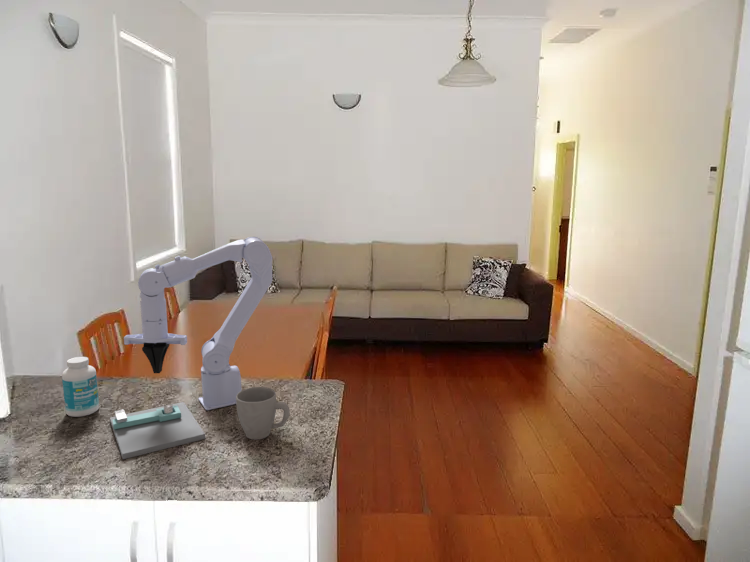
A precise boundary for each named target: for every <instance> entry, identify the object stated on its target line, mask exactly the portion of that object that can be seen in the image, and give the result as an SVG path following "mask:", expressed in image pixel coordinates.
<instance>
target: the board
mask: <svg viewBox="0 0 750 562" xmlns="http://www.w3.org/2000/svg"><path fill="white" fill-rule="evenodd" d="M170 405H173V406H176V405H177V406H178V408H179V410H180V412H181V418H176V419H172V420H167V421H162V422H160V421H159V420H158V421H153V422H148V423H143V424H138V425H133V426H129V427H124V428H119V429H114V427H113V419H115V416H110V417H109V420H110V425H111V428H112V431H113V434H114V437H115V440H116V443H117V447H118V450H119V453H120V456H121V458H122V460H126V459H129V458H134V457H138V456H141V455H142V456H143V455H145V454H149V453H154V452H158V451H161V450H165V449H166V450H167V449H170V448H174V447H178V446H182V445H185V444H190V443H193V442H198V441H201V440H205V439H206V433H205V431H204V430H203V428H202V427H201V425H200V424H199V423H198V421H197V419H196V418H195V416H194V415H193V413H192V412H191V410H190V409H189V407H187V405H186V403H185V402H184V401H181V402H177V403H171V404H170ZM164 406H165V405H162V406H157V407H154V408H153V407H151V408H148V409H144V410H138V411H134V412H129V413H125V414H126V416H127V417H128V416H134V415H139V414H144V413H149V412H154V411H156V409H160V408H164Z"/></svg>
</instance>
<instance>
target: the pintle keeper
mask: <svg viewBox="0 0 750 562" xmlns="http://www.w3.org/2000/svg"><path fill="white" fill-rule="evenodd" d="M163 406H164V414H168V413H173V405H171V404H166V405H163ZM126 414H127V413H126V411H125V410H124V408H122V409H119V410H114V417H115V419H117V422H118V423H120V422H125V421H127V416H126Z"/></svg>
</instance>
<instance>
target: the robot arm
mask: <svg viewBox="0 0 750 562" xmlns="http://www.w3.org/2000/svg"><path fill="white" fill-rule="evenodd" d="M243 259H244V260H245V262H246V263H247V264H246V265H248V269H249V273H250V275H251V276H250V279H249V281H248V283H247V284H246V286H245V287H244V288H243V290H242V293H240V296H239V297H238V299H236V302H235V304H234V306H233V307H232V308H231V310H230V311H229V313H228V315H227V317H225V319H224V321H223V323H222V325H221V327H220V328H219V329H218V330H217V331H216V332H215V333H214V334H213V336H212V337H211V338H210V339H208V340H207V341H206V342H204V344H203V345H202V347H201V356H202V359H201V360H202V366H201V367H200V375H201V376H200V377H201V378H200V379H201V389H202V390H201V391H202V396H201V397H200V396H199V397H198V400H197V401H199V403H200V404H201V405H202V406H203V408H204V409H205V410H206V411H211V410H214V409H215V410H216V409H218V408H224V407H228V406H233V405H236V395H237V394H238V393H239V392H240V391H242V390H243V388H242V376H241V375H242V374H241V371H240V369H239V367H238V366H237V365H230V363H229V362H230V357H231V354H232V352H233V351H234V347H235V345H236V341H237V340H238V338H239V336H240V335H241V334H242V332H243V330H244V328H245V327H246V325H247V323H248V322H249V320H250V318H251V317H252V316H253V314H254V312H255V310H256V309H257V307H258V305H259V304H260V303H261V300H262V299H263V298H264V296H265V295H266V293H267V291H268V289H269V288H270V286H271V284H272V282H273V259H274V258H273V255H272V253H271V250H270V247H269V246H268V245H267V244H266V243H265V242H264V241H263V240H262V238H260V237H258V236H248V237H246V238H244V239H243V238H242V239H237V240H235V241H232V242H229V243H227V244H223V245H221V246H219V247H217V248H214V249H213V250H212V249H211V250H210V251H208V252H206V253H203V254H201V255H199V256H196V257H194V258H191V257H188V256H186V255H184V256H182V257H181V256H180V255H177V256H175V257H174V260H172V261H169V262H166V263H162V264H161V265H160V264H159V263H158V264H155V266H154V268H152V267H151V268H147V269H145V270H143V271H142V273H141V274H140V276H139V278H138V280H137V286H138V289H139V291H140V294H139V297H140V303H139V304H140V317H141V329H142V333H137V334H135V333H134V334H126V335H125V336H124V337H123V344H124V345H134V344H135V345H143V346H142V347H141V349H142V350H141V351H142V352H143V353H144V355H145V356H146V358H147V360H148V362H149V363H150V366H151V368H152V372H153V374H160V373H162V371H163V365H164V361H165V357H166V354H167V351H168V349H169V347H170V345H181V346H186V345H187V344H188V335H187V334H186V335H185V334H175V333H169V331H168V327H169V326H168V314H167V312H168V311H167V300H166V298H165V288H172V287H174V286H177V285H179V284H182V283H185V282H187V281H190V280H192V279H195V278H196V276H197V274H198V272H199V271H201V270H204V269H207V268H210V267H213V266H216V265H219V264H222V263H225V262H227V261H232V262H233V261H234V262H238V263H243Z"/></svg>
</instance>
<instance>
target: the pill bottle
mask: <svg viewBox="0 0 750 562" xmlns="http://www.w3.org/2000/svg"><path fill="white" fill-rule="evenodd" d="M89 364H90V360H89V357H87V356H75V357H72V358H69V359H67V361H66V366H67V368H65V369H64V370H63V372H62V373H61V380H62V381H61V382H62V390H63V397H64V398H63V400H64V408H65V414H67V415H68V416H69V417H75V418H79V417H85V416H89V415H92V414H94V413H96V412H97V411H98V410H99V408H100V401H99V391H98V390H99V388H98V379H97V371H96V368H95V367H94V366H92V365H89ZM67 415H66V416H67Z"/></svg>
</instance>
